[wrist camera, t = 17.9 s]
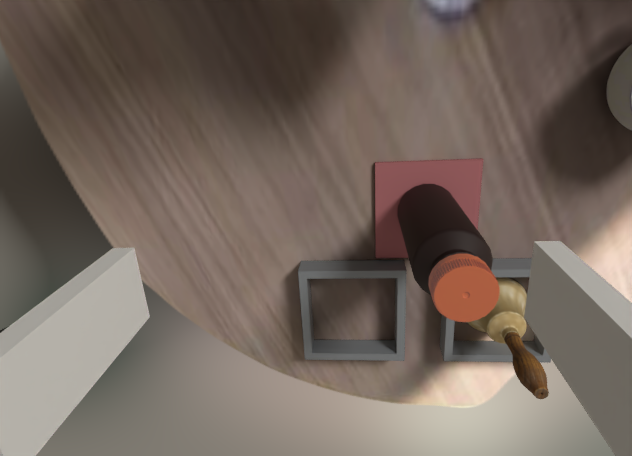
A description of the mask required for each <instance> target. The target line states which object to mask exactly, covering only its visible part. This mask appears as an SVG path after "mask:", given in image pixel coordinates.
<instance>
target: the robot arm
mask: <svg viewBox="0 0 632 456" xmlns="http://www.w3.org/2000/svg"><path fill="white" fill-rule="evenodd" d="M149 317H150V316H149V312H148V307H147V303H146V298H145V294H144V289H143V285H142V280H141V276H140V271H139V267H138V262H137V258H136V254H135V249H134V248H113V249H111V250H110V251H109V252H107V253H106V254H105V255H104V256H102V257H101V258H99V259H98V260H97V261H95V262H94V263H93V264H92V265H90V266H89V267H87V268H86V269H85V270H83V271H82V272H81V273H79V274H78V275H77V276H75V277H74V278H73V279H72V280H70V281H69V282H68V283H66V284H65V285H63V286H62V287H61V288H59V289H58V290H57V291H55V292H54V293H53V294H51V295H50V296H49V297H48V298H46V299H45V300H44V301H42V302H41V303H40V304H38V305H37V306H36V307H34V308H33V309H32V310H30V311H29V312H28V313H26V314H25V315H24V316H22V317H21V318H20V319H18V320H17V321H16V322H14V323H13V324H12V325H10V326H8V327H6V328H4V329H2V330H0V456H36V454H37V453H38V452H39V451H40V449H41V448H42V447H43V446H44V445H45V444H46V442H47V441H48V440H49V439H50V437H51V436H52V435H53V434H54V433H55V431H56V430H57V429H58V428H59V426H60V425H61V424H62V423H63V422H64V420H65V419H66V418H67V417H68V416H69V414H70V413H71V412H72V410H73V409H74V408H75V407H76V406H77V405H78V403H79V402H80V401H81V400H82V399H83V397H84V396H85V395H86V394H87V392H88V391H89V390H90V389H91V388H92V386H93V385H94V384H95V383H96V382H97V380H98V379H99V378H100V377H101V375H102V374H103V373H104V372H105V371H106V369H107V368H108V367H109V366H110V365H111V363H112V362H113V361H114V360H115V358H116V357H117V356H118V355H119V354H120V352H121V351H122V350H123V349H124V347H125V346H126V345H127V344H128V343H129V341H130V340H131V339H132V338H133V337H134V335H135V334H136V333H137V332H138V330H139V329H140V328H141V327H142V325H143V324H144V323H145V322H146V321H147V319H148V318H149ZM524 318H525V320H526V321H527V323H528V324H529V326H530V327H531V329H532V330H533V332H534V333H535V335H536V336H537V338H538V339H539V341H540V342H541V344H542V345H543V347H544V348H545V350H546V351H547V353H548V355H549V356H550V358H551V359H552V361H553V362H554V363H555V365H556V366H557V368H558V370H559V371H560V373H561V374H562V376H563V377H564V379H565V380H566V382H567V383H568V385H569V386H570V388H571V389H572V391H573V392H574V394H575V395H576V397H577V398H578V400H579V401H580V403H581V404H582V406H583V407H584V409H585V411H586V412H587V414H588V415H589V417H590V418H591V420H592V421H593V423H594V424H595V426H596V427H597V429H598V430H599V432H600V433H601V435H602V436H603V438H604V439H605V441H606V442H607V444H608V445H609V447H610V448H611V450H612V451H613V453H614V454H615V456H632V303H631V302H630V301H629V300H628V299H627V298H625V297H624V296H623V295H622V294H621V293H620V292H618V291H617V290H616V289H615V288H614V287H613V286H612V285H610V284H609V283H608V282H607V281H606V280H605V279H603V278H602V277H601V276H600V275H599V274H598V273H597V272H595V271H594V270H593V269H592V268H591V267H590V266H588V265H587V264H586V263H585V262H584V261H583V260H582V259H580V258H579V257H578V256H577V255H576V254H575V253H573V252H572V251H571V250H570V249H569V248H568V247H567V246H565V245H564V244H563V243H562V242H561V241H534V248H533V255H532V262H531V270H530V277H529V285H528V292H527V299H526V307H525V314H524Z"/></svg>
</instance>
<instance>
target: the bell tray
mask: <svg viewBox="0 0 632 456" xmlns="http://www.w3.org/2000/svg"><path fill="white" fill-rule="evenodd" d="M531 262H532V258H512V259H493V263H492V270H491V271H492V273H493V274H494V276H495V277H530V270H531ZM454 324H455V321H454V320H451V319H448V318H446V316H445V317H444V315H443V316H442V315H441V333H440V349H441V353H442V356H443V360H444V361H473V362H513V356H512V353H511V351H510V349H509V348H508V346H507V344H502V343H498V342H496V341H453V339H454ZM522 342H523V344H524V346H525V348H526V349H527V350H528V351H529V352H530V353H531V354H533V355H534V356H535V357H536V358H537V360H538V361H539V362H550V361H551V358H550V356H549V355H548V353H547V351H546V350H545V348H544V347H543V345H542V344H541V342H540V341H539V339H538V338H537V336H536V335H535V336H534V341H522Z"/></svg>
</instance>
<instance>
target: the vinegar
mask: <svg viewBox="0 0 632 456" xmlns="http://www.w3.org/2000/svg"><path fill="white" fill-rule="evenodd" d="M397 216H398V220H399V223H400V227H401V231H402V235H403V238H404V242H405V246H406V249H407V253H408V257H409V261H410V264H411V268H412V272H413V275H414V278H415V280H416V282H417V283H418V284H419V286H420V287H421V288H422V289H423V290H424V291H426V292H427V293H429V294H430V295H431V296H432V300H433V303H434V305H435V307H436V308H437V310H438V312H440V314H442V316H443V315H444V317H445V316H446V318H448V319H451V320H454V321H457V322H462V323H463V322H465V323H466V322H470V321H471V322H472V321H474V320H478V319H480V318H482V317H485V316H486V315H487V314H488V313H489V312H491V310H493V308H495V305H496V303H497V301H499V300H498V298H499V297H498V296H500V295H499V293H500V292H499V291H500V289H499V288H500V287H499V284H498V281H497V279H496V277H495V276H494V274H493V273H492V271H491V270H492V263H493V259H492V254H491V250H490V248H489V246H488V245H487V243H486V242H485V240H484V239H483V237H482V236H481V235H480V233H479V232H478V230H477V229H476V228H475V226H474V225H473V224H472V222H471V221H470V219H469V218H468V217H467V215H466V214H465V213H464V211H463V210H462V208H461V207H460V206H459V204H458V203H457V202H456V200H455V199H454V197H453V196H452V195H451V193H450V192H449V191H448V190H446V189H445V188H443V187H442V186H439V185H436V184H421V185H418V186H415V187H413V188H412V189H410V190H409V191H407V192H406V193H405V195H404V196H403V197H402V198H401V200H400V203H399V205H398V213H397Z"/></svg>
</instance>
